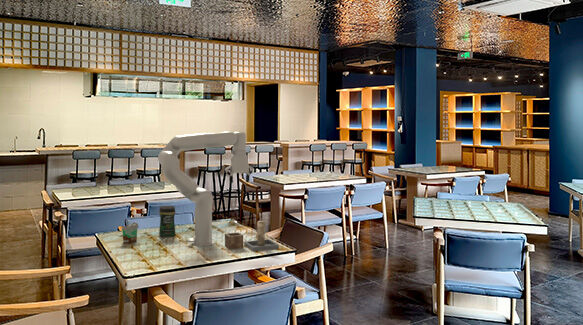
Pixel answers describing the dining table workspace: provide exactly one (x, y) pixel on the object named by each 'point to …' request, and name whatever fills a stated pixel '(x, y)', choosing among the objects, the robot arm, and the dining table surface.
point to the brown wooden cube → (233, 240)
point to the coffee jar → (167, 221)
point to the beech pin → (261, 233)
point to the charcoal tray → (268, 245)
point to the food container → (130, 233)
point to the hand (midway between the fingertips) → (239, 182)
